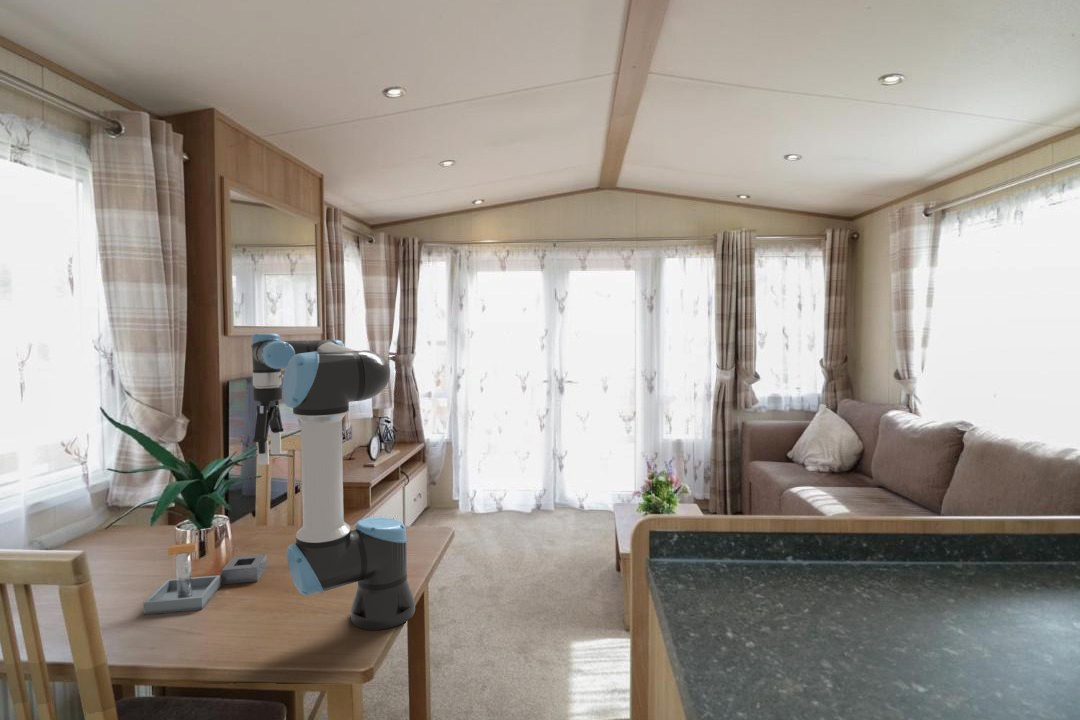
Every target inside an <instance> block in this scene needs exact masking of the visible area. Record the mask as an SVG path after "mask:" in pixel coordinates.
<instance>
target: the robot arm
mask: <svg viewBox="0 0 1080 720" xmlns="http://www.w3.org/2000/svg"><path fill="white" fill-rule="evenodd" d="M250 348H251V364H252V386H253V387H254V388H253V390H252V391H253V392H252V393H253V394H252V395H253V401H255V402H260V405H258V406H257V405H256V421H255V429H254V438H253V443H256V447H257V448H256V450H257V451H256V452H257V453H256V454H257V465H258V466H264V465H265V466H267V465H270V458H269V457H270V456H269V454H270V455H281V454H282V436H281V435H282V434H281V433H282V432H284V427H283V423H282V416H281V412H280V405H279V403H280V400H282V399H283V400H284V404H285V406H287V407H289V408H292V411H293V412H292V413H293V414H292V415H293V416H294V417H295V418H296V419H298V420H299V421H300V436H301V437H300V443H301V444H300V445H301V446H300V448H301V451H300V452H301V483H302V484H301V486H302V487H301V491H302V493H301V494H302V526H301V527H300V528H299V529H298V530H297V532H295V543H294V542H293V543H291V544H290V545H288V546H287V551H286V558H287V564H288V569H289V573H290V575H291V580H292V581H293V584H294V586H295V588H296V589H297V591H298V592H299V593H300V594H301V595H302V596H312V595H315V594H319V593H320V594H323V593H324V592H326V591H327V592H328V591H331V590H334V589H336V588H341V587H344V586H346V585H351V584H353V583H357V587H356V591H355V594H354V597H353V600H352V603H351V604H352V605H351V607H350V621H351V623H352V624H353V625H354V626H355V627H357V628H360V629H364V630H370V631H377V630H385V629H391V628H395V627H397V626H400V625H402V624H405V623H406V622H407V621H409V620H410V619H411V618H412V617H413V616H414V614H415V611H416V601H415V597H414V595H413V592H412V590H411V589H412V588H411V587H410V583H409V581H408V552H407V550H408V548H407V545H408V544H407V543H408V539H407V531H406V529H407V528H406V526H405V524H404V523H403V522H402V521H400V520H398V519H395V518H391V517H385V516H384V517H382V516H371V517H366V518H361V519H360V520H358V521H357V522H356V525H355V526H354V527H355V529H353V530H352V529H351V526H350V524H348V523H346V521H344V478H343V477H344V471H343V469H344V465H343V464H344V463H343V459H344V458H343V418H344V417H345V416H346V415H348V413H349V411H350V405H349V403H351V402H353V403H354V402H361V401H366V400H370V399H373V398H374V397H376V396H378V395H379V394H380V393H382V392H383V391H384V389H386V387H387V386H388V383H389V381H390V377H391V367H390V365H389V364H390V363H388V360H387V359H386V358H385V357H384V356H383V355H381V354H380V353H377V352H374V351H372V350H367V349H366V350H365V349H364V350H355V349H351V348H349V347H346V346H345V344H344V342H343V341H341V340H340V339H330V338H329V339H318V340H312V339H311V340H305V339H304V340H281V336H280V334H279V333H254V334H252V336H251V345H250ZM283 369H284V370H285V371H284V374H282V370H283ZM282 379H283V381H282ZM282 382H283V385H282ZM281 385H282V387H281ZM269 430H270V431H271V432H270V431H269ZM269 432H270V433H269ZM269 434H270V435H269ZM269 436H270V437H269ZM268 437H269V438H270V450H269V441H268ZM269 451H270V453H269Z"/></svg>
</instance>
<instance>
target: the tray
mask: <svg viewBox="0 0 1080 720" xmlns="http://www.w3.org/2000/svg"><path fill="white" fill-rule="evenodd" d="M191 579H192V597H187V598H178V596H177V578H172V579H167V580H166V581H165V582H163V583H162V584H161V585H160V586H159V587H158V588H157V589H156V590H155V591H154V592H153V593H152V594H151V595H150V596H149V597H148V598H147V599H146V600H145V601H143V615H156V614H166V613H167V614H169V613H176V612H187V611H198V610H199V611H200V610H203V609H204V608H205V607H206V605H207V604H208V603H209V601H210V600H211V599H212V598H213V596H214V595H215V594H216V593H217V592H218V591H219V589H220V588H221V587H222V574H219V575H218V574H217V575H207V576H205V575H204V576H196V577H191Z"/></svg>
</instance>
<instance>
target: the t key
mask: <svg viewBox="0 0 1080 720" xmlns="http://www.w3.org/2000/svg"><path fill="white" fill-rule="evenodd" d="M197 550H198V543H197V542H191V543H180V544H173V545H169V546H168V548H167V555H168V556H173V555H175V575H176V579H177V596H178V598H187V597H192V579H191V578H192V562H191V561H192V560H191V553H196V552H197Z"/></svg>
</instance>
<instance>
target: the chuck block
mask: <svg viewBox="0 0 1080 720" xmlns="http://www.w3.org/2000/svg"><path fill="white" fill-rule="evenodd" d="M267 558H268V557H267V554H255V555H241V556H233V557H232V558H230V560H229V561H227V563H226V564H225V566H224V567H223V568H222V569H221V585H231V584H242V583H252V582H259V581H260V579H261V577H262V576H263V575H264V573H265V572H266V570H267V568H268V564H267V562H268V560H267Z"/></svg>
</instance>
